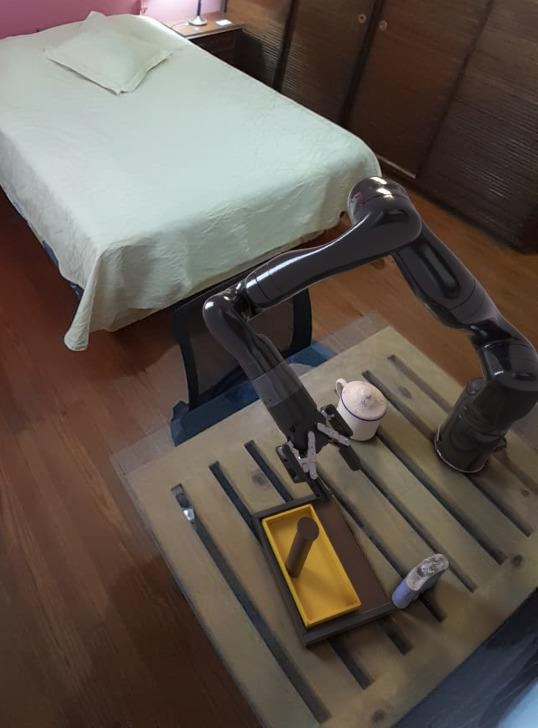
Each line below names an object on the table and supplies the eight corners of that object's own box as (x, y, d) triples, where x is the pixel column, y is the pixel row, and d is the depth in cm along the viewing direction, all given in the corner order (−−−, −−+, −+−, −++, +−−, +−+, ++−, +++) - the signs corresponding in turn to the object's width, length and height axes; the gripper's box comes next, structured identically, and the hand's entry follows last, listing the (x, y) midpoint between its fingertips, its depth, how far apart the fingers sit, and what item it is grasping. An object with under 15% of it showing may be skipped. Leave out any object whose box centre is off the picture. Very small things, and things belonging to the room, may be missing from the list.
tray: (308, 508, 104) (325, 463, 93) (358, 609, 91) (384, 570, 81) (261, 524, 102) (272, 480, 91) (305, 629, 90) (324, 592, 79)
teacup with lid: (386, 433, 117) (400, 403, 110) (352, 449, 114) (364, 419, 107) (349, 387, 126) (360, 356, 119) (316, 401, 123) (325, 370, 116)
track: (328, 493, 107) (330, 488, 106) (392, 613, 92) (395, 608, 90) (251, 519, 104) (252, 513, 103) (304, 646, 89) (306, 642, 87)
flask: (399, 612, 92) (417, 590, 85) (386, 594, 94) (402, 571, 88) (437, 583, 95) (457, 559, 89) (423, 566, 97) (442, 541, 91)
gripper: (268, 410, 86) (332, 510, 81) (320, 367, 94) (382, 456, 89) (244, 420, 92) (303, 513, 87) (295, 378, 100) (352, 462, 95)
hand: (343, 484), depth 88 cm, fingers open, 8 cm apart
